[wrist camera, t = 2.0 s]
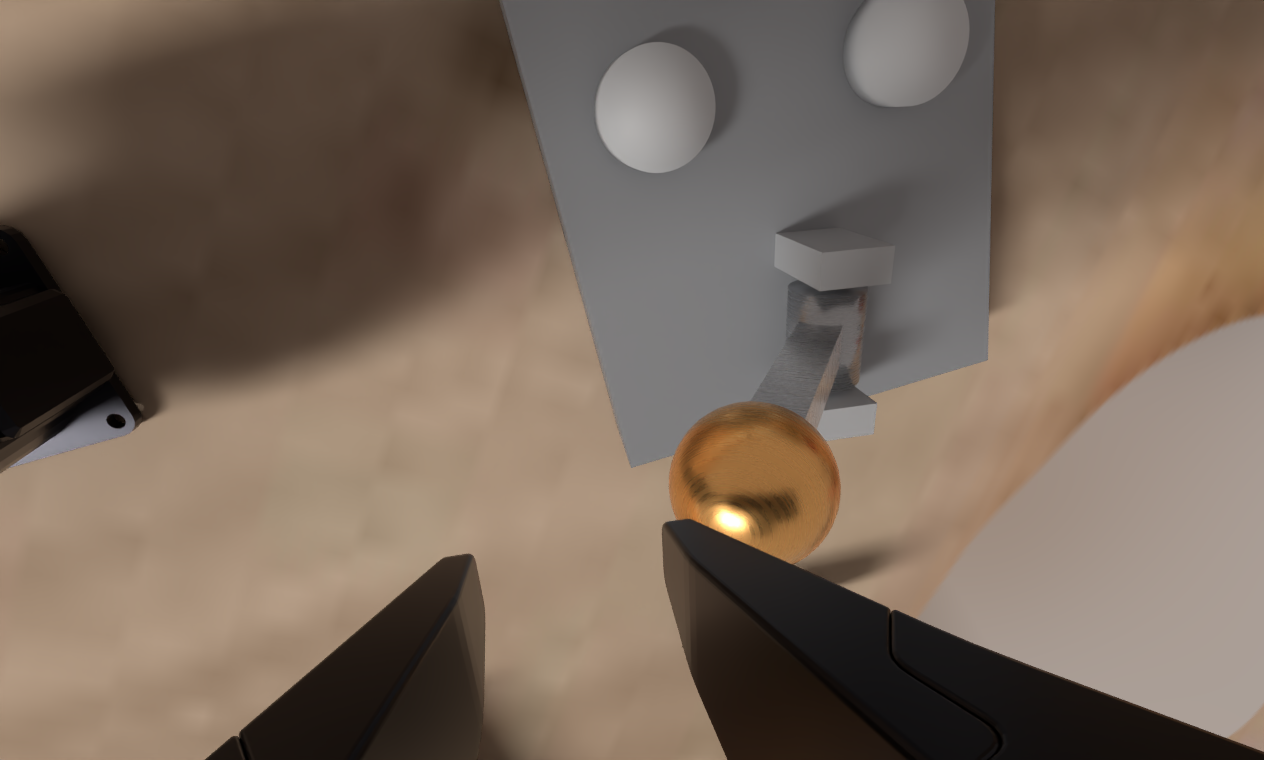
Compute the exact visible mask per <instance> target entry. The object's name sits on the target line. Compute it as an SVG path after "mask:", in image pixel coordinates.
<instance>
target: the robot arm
mask: <svg viewBox="0 0 1264 760" xmlns="http://www.w3.org/2000/svg"><path fill="white" fill-rule="evenodd" d="M0 239H2V240H3V241H4V242H5V243H6V244H7V246H8V248H9V250H8V253H7V252H5V251H3V250H2V249H1V248H0V473H2V472H3V471H4V470H6V469H7V468H10V467H14V466H17V465H21V464H24V463H28V462H31V461H35V460H39V459H42V458H46V457H49V456H53V455H56V454H60V453H63V452H67V451H71V450H74V449H78V448H81V447H85V446H88V445H92V444H95V443H99V442H103V441H106V440H110V439H113V438H117V437H120V436H124V435H127V434H129V433H131V432H132V431H133V430H134V429H136V428H137V427H138V426H139V425H140V423H141V422H142V415H141V413H140V410H139V409H138V407H137V406H136V404H135V403H134V401H133V400H132V398H131V397H130V395H129V394H128V392H127V391H126V389H125V388H124V386H123V385H122V383H121V382H120V380H119V379H118V377H117V375H116V374H115V372H114V368H113V366H112V365H111V363H110V362H109V360H108V358H107V357H106V355H105V354H104V352H103V351H102V349H101V348H100V346H99V345H98V343H97V342H96V340H95V339H94V337H93V336H92V334H91V333H90V331H89V329H88V328H87V326H86V325H85V323H84V322H83V320H82V319H81V317H80V316H79V314H78V313H77V311H76V310H75V308H74V307H73V305H72V304H71V302H70V300H69V299H68V297H67V296H66V295H65V294H63V293H62V292H61V290H60V289H59V287H58V286H57V284H56V283H55V281H54V280H53V278H52V276H51V275H50V273H49V272H48V270H47V269H46V267H45V266H44V264H43V263H42V261H41V260H40V258H39V257H38V255H37V254H36V252H35V251H34V249H33V248H32V246H31V245H30V243H29V241H28V240H27V239H26V238H25V236H24V235H23V234H22V233H21V232H19V231H17V230H16V229H14V228H12V227H8V226H0ZM114 414H118V415H121V416H122V417H123V418H124V419H125V421H126V423H122V422H120V421H118V420H117V419H116V418H115V416H114ZM662 546H663V567H664V577H665V583H666V587H667V591H668V595H669V598H670V602H671V605H672V609H673V613H674V616H675V620H676V623H677V627H678V630H679V634H680V638H681V641H682V645H683V648H684V652H685V655H686V659H687V662H688V665H689V668H690V672H691V675H692V677H693V680H694V682H695V685H696V688H697V690H698V693H699V695H700V697H701V699H702V702H703V704H704V706H705V709H706V711H707V713H708V716H709V718H710V720H711V723H712V725H713V727H714V730H715V732H716V734H717V737H718V739H719V741H720V744H721V746H722V748H723V751H724V753H725V755H726V757H727V760H1264V752H1262V751H1260V750H1257V749H1254V748H1252V747H1249V746H1246V745H1243V744H1241V743H1238V742H1235V741H1233V740H1230V739H1227V738H1225V737H1222V736H1219V735H1216V734H1214V733H1211V732H1208V731H1206V730H1203V729H1200V728H1198V727H1195V726H1192V725H1190V724H1187V723H1184V722H1181V721H1179V720H1176V719H1173V718H1171V717H1168V716H1165V715H1163V714H1160V713H1157V712H1154V711H1152V710H1149V709H1146V708H1143V707H1141V706H1138V705H1136V704H1133V703H1130V702H1128V701H1125V700H1122V699H1119V698H1117V697H1113V696H1111V695H1108V694H1106V693H1103V692H1100V691H1098V690H1095V689H1092V688H1090V687H1087V686H1084V685H1082V684H1079V683H1076V682H1074V681H1071V680H1068V679H1065V678H1063V677H1060V676H1057V675H1055V674H1052V673H1049V672H1047V671H1044V670H1041V669H1039V668H1036V667H1033V666H1031V665H1028V664H1025V663H1023V662H1020V661H1018V660H1015V659H1012V658H1010V657H1007V656H1005V655H1002V654H999V653H997V652H994V651H992V650H989V649H986V648H984V647H981V646H979V645H976V644H973V643H971V642H969V641H966V640H964V639H962V638H959V637H957V636H955V635H952V634H950V633H948V632H945V631H943V630H941V629H938V628H935V627H933V626H931V625H929V624H926V623H924V622H922V621H920V620H918V619H915V618H913V617H911V616H909V615H906V614H904V613H902V612H900V611H898V610H893V611H892V612H891V611H890V609H889V608H888V607H886V606H884V605H882V604H879V603H877V602H875V601H873V600H870V599H868V598H866V597H864V596H861V595H859V594H857V593H855V592H853V591H850V590H848V589H846V588H844V587H841V586H839V585H837V584H835V583H833V582H830V581H828V580H826V579H824V578H821V577H819V576H817V575H815V574H812V573H810V572H808V571H806V570H804V569H801V568H799V567H797V566H795V565H792V564H790V563H788V562H786V561H784V560H781V559H779V558H777V557H775V556H772V555H770V554H768V553H766V552H763V551H761V550H759V549H757V548H755V547H752V546H750V545H748V544H746V543H743V542H741V541H739V540H737V539H735V538H732V537H730V536H728V535H726V534H723V533H721V532H719V531H717V530H714V529H712V528H710V527H708V526H706V525H703V524H701V523H699V522H697V521H694V520H692V519H681V520H675V521H669V522H666V523H664V524H663V527H662ZM484 673H485V607H484V601H483V595H482V590H481V585H480V581H479V576H478V571H477V566H476V561H475V558H474V556H473V555H471V554H463V555H456V556H450V557H445V558H443V559H441V560H440V561H439V562H437V563H436V564H435V565H434V566H433V567H431V568H430V569H429V570H428V571H427V572H426V573H424V574H423V575H422V576H421V577H420V578H419V579H417V580H416V581H415V582H414V583H413V584H412V585H410V586H409V587H408V588H407V589H406V590H405V591H403V592H402V593H401V594H400V595H399V596H398V597H396V598H395V599H394V600H393V601H392V602H391V603H389V604H388V605H387V606H386V607H385V608H384V609H382V610H381V611H380V612H379V613H378V614H377V615H375V616H374V617H373V618H372V619H371V620H370V621H368V622H367V623H366V624H365V625H364V626H363V627H361V628H360V629H359V630H358V631H357V632H356V633H354V634H353V635H352V636H351V637H350V638H349V639H347V640H346V641H345V642H344V643H343V644H342V645H340V646H339V647H338V648H337V649H336V650H334V651H333V652H332V653H331V654H330V655H329V656H327V657H326V658H325V659H324V660H323V661H322V662H320V663H319V664H318V665H317V666H316V667H315V668H313V669H312V670H311V671H310V672H309V673H308V674H306V675H305V676H304V677H303V678H302V679H301V680H299V681H298V682H297V683H296V684H295V685H294V686H292V687H291V688H290V689H289V690H288V691H287V692H285V693H284V694H283V695H282V696H281V697H280V698H278V699H277V700H276V701H275V702H274V703H272V704H271V705H270V706H269V707H268V708H267V709H265V710H264V711H263V712H262V713H261V714H260V715H258V716H257V717H256V718H255V719H254V720H253V721H251V722H250V723H249V724H248V725H247V726H246V727H244V728H243V729H242V730H241V731H240V733H239V737H238V736H233V737H231V738H230V739H228V740H227V741H226V742H225V743H224V744H223V745H221V746H220V747H219V748H218V749H217V750H216V751H214V752H213V753H212V754H211V755H210V756H209V757H207V758H206V759H205V760H477V759H478V752H479V745H480V739H481V731H482V723H483V710H484ZM239 738H240V739H239Z"/></svg>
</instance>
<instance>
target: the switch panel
mask: <svg viewBox="0 0 1264 760" xmlns="http://www.w3.org/2000/svg"><path fill="white" fill-rule="evenodd" d="M499 3H500V6H501V10H502V13H503V17H504V21H505V24H506V28H507V31H508V35H509V39H510V42H511V46H512V49H513V53H514V56H515V60H516V64H517V67H518V71H519V74H520V78H521V82H522V85H523V89H524V92H525V96H526V100H527V103H528V107H529V110H530V114H531V118H532V121H533V125H534V128H535V132H536V136H537V139H538V143H539V146H540V150H541V153H542V157H543V161H544V164H545V168H546V171H547V175H548V179H549V182H550V186H551V189H552V193H553V197H554V200H555V204H556V207H557V211H558V215H559V218H560V222H561V225H562V229H563V233H564V236H565V240H566V243H567V247H568V250H569V254H570V258H571V261H572V265H573V268H574V272H575V276H576V279H577V283H578V286H579V290H580V294H581V297H582V301H583V304H584V308H585V312H586V315H587V319H588V322H589V326H590V330H591V333H592V337H593V340H594V344H595V347H596V351H597V355H598V358H599V362H600V365H601V369H602V373H603V376H604V380H605V383H606V387H607V391H608V394H609V398H610V401H611V405H612V409H613V412H614V416H615V419H616V423H617V427H618V430H619V434H620V436H621V439H622V442H623V445H624V448H625V451H626V454H627V457H628V460H629V463H630V466H631V468H632V467H636V466H639V465H642V464H646V463H649V462H652V461H655V460H659V459H662V458H665V457H669V456H672V455H674V454H675V451H676V449H677V447H678V445H679V444H680V442H681V440H682V438H683V437H684V435H685V434H686V433H687V432H688V430H689V429H690V428H691V427H692V426H693V425H694V424H695V423H696V422H697V421H698V420H699V419H701V418H702V417H704V416H705V415H707V414H708V413H710V412H711V411H713V410H716V409H718V408H720V407H723V406H726V405H729V404H733V403H738V402H746V401H751V399H752V397H753V396H754V394H755V392H756V391H757V389H758V388H759V386H760V384H761V383H762V381H763V379H764V378H765V376H766V374H767V373H768V371H769V370H770V368H771V366H772V365H773V363H774V361H775V360H776V358H777V356H778V355H779V353H780V351H781V350H782V348H783V347H784V345H785V341H786V319H787V298H788V285H789V284H790V283H791V282H794V281H796V280H800V281H802V282H803V283H805V284H807V285H809V286H811V287H813V288H814V289H816V290H818V291H827V290H837V289H846V288H855V287H864V286H868V287H869V290H868V300H867V310H866V319H865V329H864V339H863V349H862V359H861V369H860V379H859V383H858V384H857V385H855V386H854V387H852V388H849V389H846V390H841V391H832V392H830V394H829V397H828V400H827V403H826V405H825V408H824V411H823V414H822V417H821V419H820V422H819V425H818V428H817V430H818V432H819V433H820V434H821V435H822V436H823V438H824V439H825V441H829V440H836V439H843V438H850V437H857V436H864V435H871V434H874V426H875V417H876V408H877V403H876V402H875V401H873V400H872V399H871V398H869V397H868V396H870V395H874V394H877V393H880V392H884V391H887V390H890V389H894V388H897V387H900V386H904V385H907V384H910V383H914V382H917V381H920V380H923V379H927V378H930V377H933V376H937V375H940V374H943V373H947V372H950V371H953V370H957V369H960V368H963V367H966V366H970V365H973V364H976V363H980V362H983V361H986V360H988V325H989V275H990V226H991V177H992V127H993V78H994V29H995V0H499Z"/></svg>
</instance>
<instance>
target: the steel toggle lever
mask: <svg viewBox="0 0 1264 760" xmlns="http://www.w3.org/2000/svg"><path fill="white" fill-rule="evenodd" d="M868 290H869V287H868V286H864V287H855V288H846V289H837V290H827V291H818V290H816V289H814V288H813V287H811V286H809V285H807V284H805V283H803V282H802V281H800V280H796V281H794V282H791V283H790V284H789V285H788V298H787V319H786V341H785V345H784V347H783V348H782V350H781V351H780V353H779V355H778V356H777V358H776V360H775V361H774V363H773V365H772V366H771V368H770V370H769V371H768V373H767V374H766V376H765V378H764V379H763V381H762V383H761V384H760V386H759V388H758V389H757V391H756V392H755V394H754V396H753V397H752V399H751V401H746V402H738V403H733V404H729V405H726V406H723V407H720V408H718V409H716V410H713V411H711V412H710V413H708V414H707V415H705V416H704V417H702V418H701V419H699V420H698V421H697V422H696V423H695V424H694V425H693V426H692V427H691V428H690V429H689V430H688V432H687V433H686V434H685V435H684V437H683V438H682V440H681V442H680V444H679V445H678V447H677V449H676V451H675V454H674V457H673V460H672V463H671V468H670V475H669V493H670V500H671V504H672V508H673V511H674V514H675V517H676V519H677V520H681V519H692V520H694V521H697V522H699V523H701V524H703V525H706V526H708V527H710V528H712V529H714V530H717V531H719V532H721V533H723V534H726V535H728V536H730V537H732V538H735V539H737V540H739V541H741V542H743V543H746V544H748V545H750V546H752V547H755V548H757V549H759V550H761V551H763V552H766V553H768V554H770V555H772V556H775V557H777V558H779V559H781V560H784V561H786V562H788V563H790V564H792V565H793V564H795V563H797V562H799V561H800V560H802V559H804V558H805V557H807V556H808V555H809V554H810V553H811V552H813V551H814V550H815V549H816V548H817V547H818V546H819V545H820V544H821V543H822V541H823V540H824V539H825V537H826V536H827V534H828V533H829V531H830V529H831V528H832V526H833V523H834V521H835V518H836V515H837V512H838V508H839V503H840V495H841V484H840V477H839V470H838V467H837V463H836V460H835V458H834V456H833V454H832V451H831V449H830V447H829V445H828V444H827V442H826V441H825V439H824V438H823V436H822V435H821V434H820V433H819V432H818V430H817V428H818V425H819V422H820V419H821V417H822V414H823V411H824V408H825V405H826V403H827V400H828V397H829V394H830V392H832V391H841V390H846V389H849V388H852V387H854V386H855V385H857V384H858V383H859V379H860V369H861V359H862V349H863V339H864V329H865V319H866V310H867V300H868Z"/></svg>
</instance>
